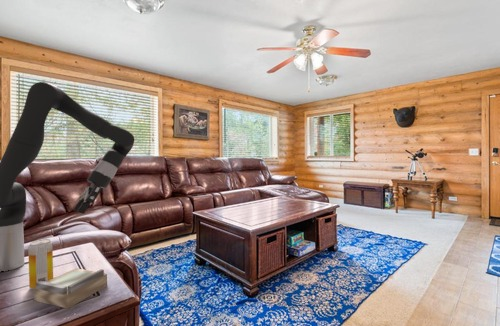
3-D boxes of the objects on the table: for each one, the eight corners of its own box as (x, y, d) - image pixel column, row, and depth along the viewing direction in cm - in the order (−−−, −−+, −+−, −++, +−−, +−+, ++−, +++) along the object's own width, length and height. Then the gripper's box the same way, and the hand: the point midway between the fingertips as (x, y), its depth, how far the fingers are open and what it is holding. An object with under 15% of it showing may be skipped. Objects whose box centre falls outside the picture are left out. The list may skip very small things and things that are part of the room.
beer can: (50, 279, 86) (49, 237, 85) (55, 285, 82) (54, 241, 81) (27, 286, 81) (26, 242, 81) (31, 293, 77) (30, 246, 77)
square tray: (33, 300, 73) (32, 281, 73) (76, 279, 86) (75, 263, 85) (67, 309, 69) (66, 289, 69) (107, 285, 82) (106, 268, 81)
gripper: (89, 170, 100) (64, 206, 94) (98, 168, 90) (70, 209, 84) (107, 179, 105) (84, 214, 98) (117, 178, 95) (92, 217, 88)
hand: (78, 211), depth 91 cm, fingers open, 8 cm apart
